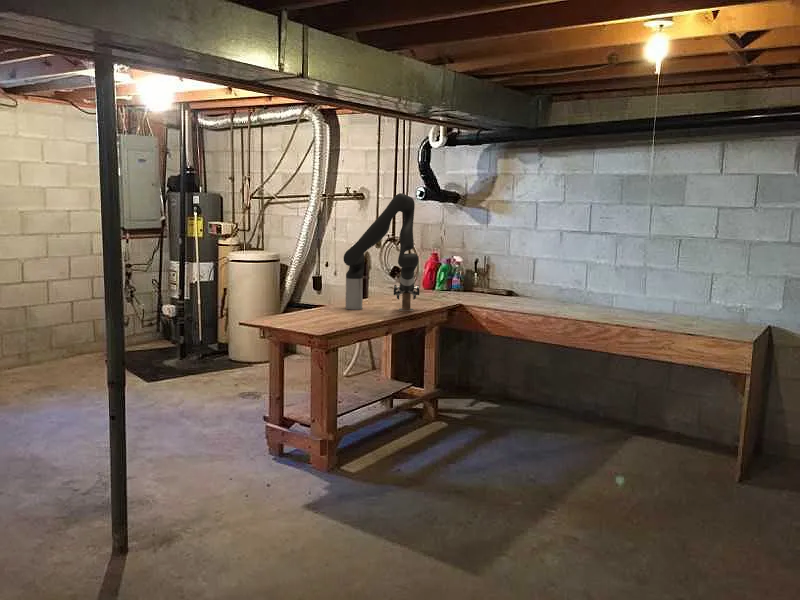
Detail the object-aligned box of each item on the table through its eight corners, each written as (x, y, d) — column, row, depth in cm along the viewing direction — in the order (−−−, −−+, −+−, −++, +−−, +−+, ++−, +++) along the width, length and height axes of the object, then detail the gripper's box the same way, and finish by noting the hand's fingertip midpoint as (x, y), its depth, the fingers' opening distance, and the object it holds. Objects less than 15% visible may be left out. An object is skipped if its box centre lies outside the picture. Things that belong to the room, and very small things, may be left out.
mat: (399, 310, 368) (399, 310, 368) (398, 308, 376) (398, 308, 376) (413, 310, 369) (413, 310, 369) (412, 308, 377) (412, 308, 377)
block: (402, 309, 370) (402, 290, 369) (402, 308, 375) (402, 289, 373) (410, 310, 370) (410, 290, 369) (410, 308, 375) (410, 289, 373)
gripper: (420, 274, 362) (418, 293, 375) (393, 274, 362) (393, 292, 375) (420, 285, 358) (419, 303, 371) (393, 285, 358) (393, 303, 371)
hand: (406, 298), depth 373 cm, fingers open, 8 cm apart
